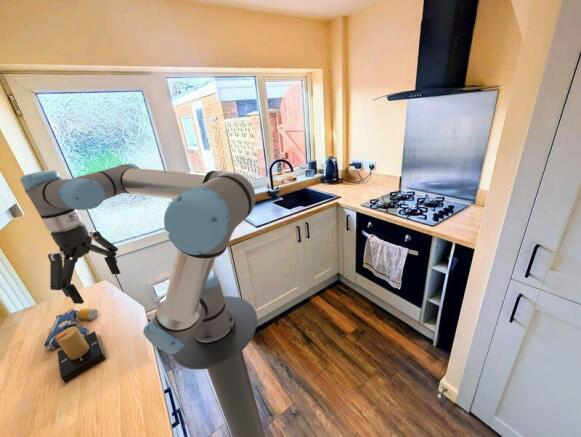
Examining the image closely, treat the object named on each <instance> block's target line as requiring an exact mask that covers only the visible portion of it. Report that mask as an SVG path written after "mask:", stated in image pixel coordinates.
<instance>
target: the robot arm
mask: <svg viewBox="0 0 581 437" xmlns="http://www.w3.org/2000/svg"><path fill="white" fill-rule="evenodd" d="M19 181H20V182H21V185H22V187H23V189H24V192H25V193H26V195H27V196H28V199H29V200H30V201H31V203H32V204H33V207H34V208H35V210H36V211H37V213H38V214H39V216H40V218H41V220H42V222H43V224H44V226H45V228H46V229H47V231H48V232H50V236H51V238H52V240H53V241H54V243H55V245H57V246H58V248H59V251H56V252H53V253H50V252H49V253H48V254H47V258H48V260H49V262H50V267H49V268H50V270H49V271H50V276H49V278H50V279H49V280H50V281H49V289H50V291H62V292H63V294H64V296H65V297H67V298H70V299H71V301H72V303H73V304H76V305H83V304H84V303H85V301H84V299H83V297H82V296H81V294H80V291H78V289H77V287H76V285H75V284H74V283H71V282H72V279H73V276H74V275H73V274H74V270H75V267H76V263H77V262H78V261H79V259H81V258H83V256H85V255H87V254H89V253H90V252H93V253H96V254H100V255H102V256H105V257H104V258H103V259H104V261H105V263H106V265H107V267H108V269H109V271H110V273H111V275H120V274H121V271H120V268H119V267H118V259H117V258H116V256H117V254H118V253H117V252H118V251H119V248H118V247H117V246H116V245H114V243H111V242H110V241H109V240H108V239H106V238H105V237H104V236H102V233H101V232H100V231H93V230H92V231H90V232H89V229H88V228H87V226H86V225H85V223H84V222H83V218H82V217H81V214H80V212H79V211H86V210H92V209H97V207H98V208H99V206H101V204H102V203H103V202H104V201H106V200H109V199H110V198H113V197H114V198H115V197H117V196H119V195H122V194H128V195H129V194H130V195H138V196H147V197H155V198H162V199H170V200H171V201H170V203H169V204H168V206H166V207H167V208H166V210H165V212H164V215H163V216H164V217H163V218H164V219H163V225H164V230H165V232H168V233H169V234H167V237H168V239H169V241H170V242H171V243H172V244H173V245H174V246H175V248H176V249H177V250H176V253H175V254H176V255H175V257H174V262H173V266H172V271H171V274H170V278H169V282H168V287H167V289H166V290H167V291H166V294H165V296H164V297H162V299H161V300H160V301H159V302H158V304H157V307H156V310H155V315H154V316H153V317H152V319H150V321H148V322H147V323H146V325H145V326H144V327H143V329H142V331H143V335H144V337H145V338H146V339H147V340H148V342H149V343H150V344H151V345H153V346H154V347H155V348H157V349H158V350H160V351H162V352H164V353H166V354H170V355H171V354H174V353H177V352H178V351H179V350H180V349H181V348H182V347H183V346H184V345H185V343H186V342H187V341H188V339H189V338H190V337H191V335H192V334H193V337H194V339H195V340H196V341H197V342H198V343H200V344H213V343H216V342H219V341H221V340H222V339H224V338H225V337H227V336H228V335H229V334H230V333H231V331H233V332H235V329H233V328H234V325H235V318H234V314H233V312H232V311H231V310H230V309H229V307H228V306H227V305H226V304H225V301H224V297H225V296H224V293H223V289H222V286H221V280H220V279H219V277H218V274H217V273H216V272H215V271H214V270H212V269H213V266H214V264H215V261H216V258H218V257H220V256H222V255H223V254H224V253H225V252H226V250H227V248H228V245H229V243H230V240H231V238H232V235H233V233H234V231H235V229H236V228H237V227H238V226H239V225H240V224H242V222H243V221H244V220H245V219H247V218H248V217H249V216H250V214H252V212H253V210H254V208H255V205H256V193H255V192H256V191H255V189H254V186H253V185H252V183H251V182H250V181H249V179H248V178H247V177H245V176H244V175H242V174H240V173H237V172H233V171H223V170H209V171H207V172H206V173H198V172H197V173H196V172H186V171H185V172H184V171H175V170H172V171H171V170H162V169H160V170H159V169H149V168H140V167H139V166H138V165H136V164H133V163H126V164H118V165H116V166H113V167H109V168H106V169H101V170H99V171H95V172H92V173H88V174H83V175H79V176H75V177H71V178H63V177H62V176H61V175H60V173H59V172H58V171H57V170H54V169H51V170H50V169H49V170H42V171H35V172H31V173H28V174H24V175H22V176H21V177H20V179H19ZM92 241H94V242H96V243H97V244H99V245H100V246H102V247H103V248H102V247H100V246H98V245H96V244H94V243H92Z"/></svg>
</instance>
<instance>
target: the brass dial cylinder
mask: <svg viewBox="0 0 581 437" xmlns="http://www.w3.org/2000/svg"><path fill="white" fill-rule="evenodd" d="M84 337H85V336H84ZM84 337H83V336H82V334H81V333H80V331H79V329H78V328H77V327H76V326H75V327H70V328H67V329H65V330H63V331H62V332H61V333H59V334H58V336H57V337H56V340H57V342H58V343H59V344H60V346H59V347H60V348H61V349H63V350H64V352H65V353H66V354H67V356H68V357H69V359H71V360H74V359H77V358H79V357H81V356H83V355H84V354H85V353H86V352H87V351H88V350H89V345H88V344H87V342H86V340H85V339H84Z"/></svg>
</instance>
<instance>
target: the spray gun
mask: <svg viewBox="0 0 581 437" xmlns="http://www.w3.org/2000/svg"><path fill="white" fill-rule="evenodd" d="M98 314H99V312H98V309H96V308H81V309H79V310H75V309H74V308H69V309H68V310H66V311H65V312H63V313H60V314H57V315H56V316H55V321H54V323H53V325H52V327H51V330H50V332H49V334H48V336H47V338H46V339H45V342H44V347H45V350H46V351H50V350H51V349H52V350H55V349H56V348H57V347H61V346H60V344H59V343H58V342H57V340H56V337H57V336H58V334H59V333H61V332H62V331H63V330H65V329H67V328H70V327H77V328H78V329H79V331H80V333H81V334H82V336H83V337H85V336H87V332H88V327H87V326H86V325H84V326H82V327H80V324H79V323H78V321H77V319H78V320H89V321H90V320H91V321H92V320H94V319H96V318H97V317H98Z"/></svg>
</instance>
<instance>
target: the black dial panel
mask: <svg viewBox="0 0 581 437" xmlns="http://www.w3.org/2000/svg"><path fill="white" fill-rule="evenodd" d="M96 332H97V331H95V330H94V331H92V332H91V333H89V334H86V335H85V336H84V339H85V340H86V342H87V344H88V345H89V350H88V351H87V352H86V353H85V354H84V355H83V356H81V357H79V358H77V359H74V360H71V359H69V357H68V356H67V354H66V353H65V352H64V350H63V349H62V348H61V349H59V350H58V351H57V359H58V360H57V361H58V365H59V366H58V367H59V373H60V378H61V380H62V381H63V382H64V384H67V383H69V382H71V381H72V380H74V379H76V378H78V377H79V376H81V375H83V374H84V373H86V372H87V371H88V370H90V369H92V368H93V367H95V366H97V365H98V364H100V363H101V362H103V361H104V360H106V359H107V357H106V354H105V352H104V349H103V346H102V343H101V341H100V337H99V335H98V334H97V333H96Z"/></svg>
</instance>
